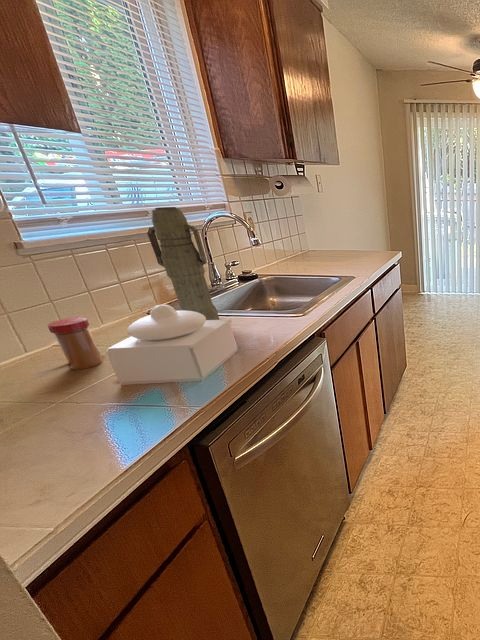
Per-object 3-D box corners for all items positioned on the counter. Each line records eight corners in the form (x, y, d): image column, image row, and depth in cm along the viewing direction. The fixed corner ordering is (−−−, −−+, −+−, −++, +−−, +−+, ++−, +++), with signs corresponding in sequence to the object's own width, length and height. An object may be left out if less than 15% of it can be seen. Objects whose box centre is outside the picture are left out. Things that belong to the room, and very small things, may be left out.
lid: (96, 325, 97) (93, 318, 96) (62, 334, 91) (59, 327, 91) (77, 322, 99) (74, 316, 98) (43, 332, 93) (40, 324, 93)
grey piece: (187, 329, 122) (146, 207, 107) (230, 325, 125) (196, 205, 110) (176, 339, 114) (130, 209, 99) (223, 335, 117) (184, 207, 102)
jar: (65, 367, 98) (45, 327, 93) (93, 358, 103) (76, 319, 98) (80, 371, 96) (60, 330, 91) (108, 361, 101) (91, 321, 96)
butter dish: (168, 353, 104) (147, 294, 98) (240, 350, 106) (223, 292, 99) (120, 385, 89) (90, 317, 82) (204, 380, 90) (181, 313, 83)
